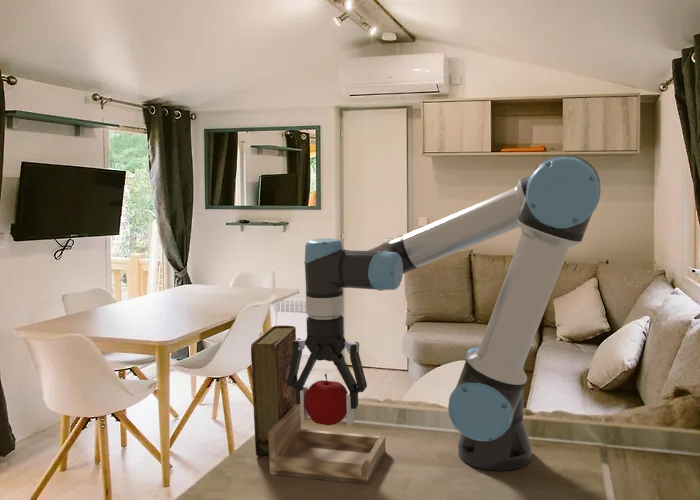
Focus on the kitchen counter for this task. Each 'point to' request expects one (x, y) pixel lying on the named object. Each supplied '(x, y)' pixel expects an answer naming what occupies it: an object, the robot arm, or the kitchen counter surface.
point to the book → (271, 381)
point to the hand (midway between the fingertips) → (327, 420)
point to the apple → (326, 402)
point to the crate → (322, 452)
